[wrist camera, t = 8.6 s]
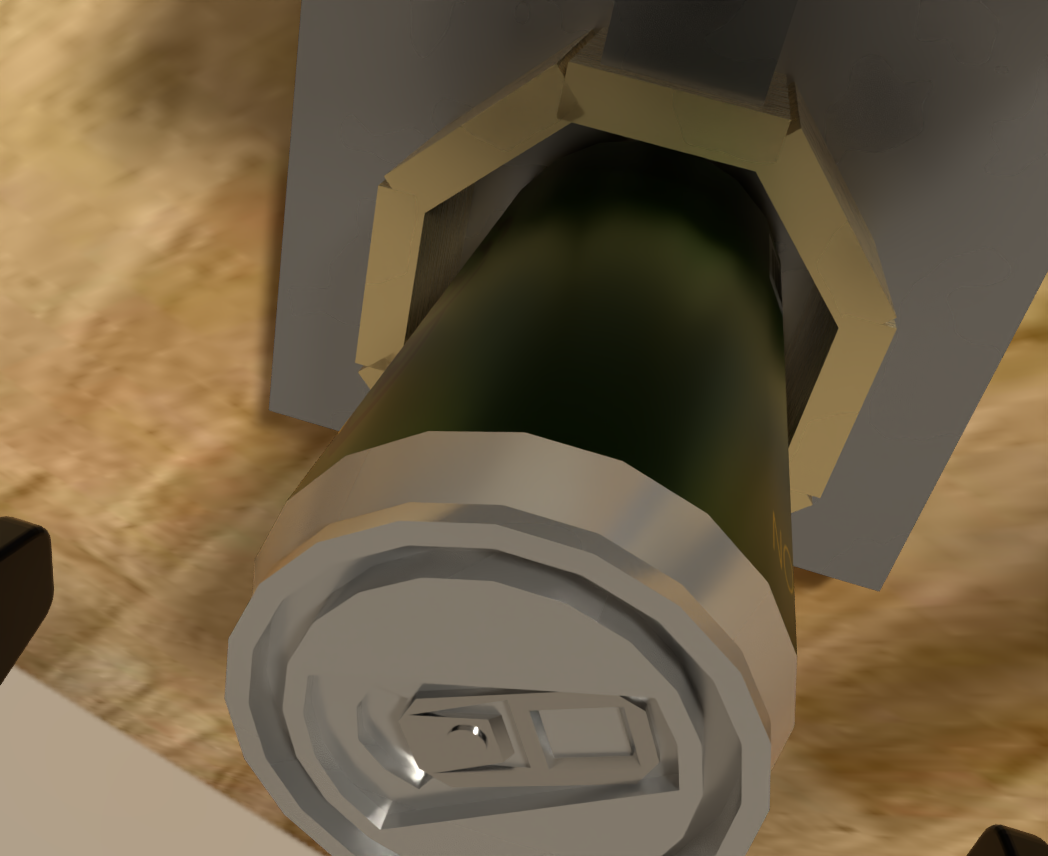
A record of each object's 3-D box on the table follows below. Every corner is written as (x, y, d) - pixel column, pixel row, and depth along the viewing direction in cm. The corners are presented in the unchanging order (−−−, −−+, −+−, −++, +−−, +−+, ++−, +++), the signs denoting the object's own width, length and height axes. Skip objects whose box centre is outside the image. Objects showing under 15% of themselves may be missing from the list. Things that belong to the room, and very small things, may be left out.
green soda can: (757, 99, 17) (748, 454, 7) (799, 377, 19) (839, 956, 9) (466, 164, 19) (101, 529, 8) (537, 413, 21) (319, 938, 11)
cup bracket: (1223, -145, 15) (1640, -153, 8) (873, 550, 22) (924, 874, 15) (364, -347, 16) (44, -515, 9) (295, 381, 24) (88, 608, 16)
